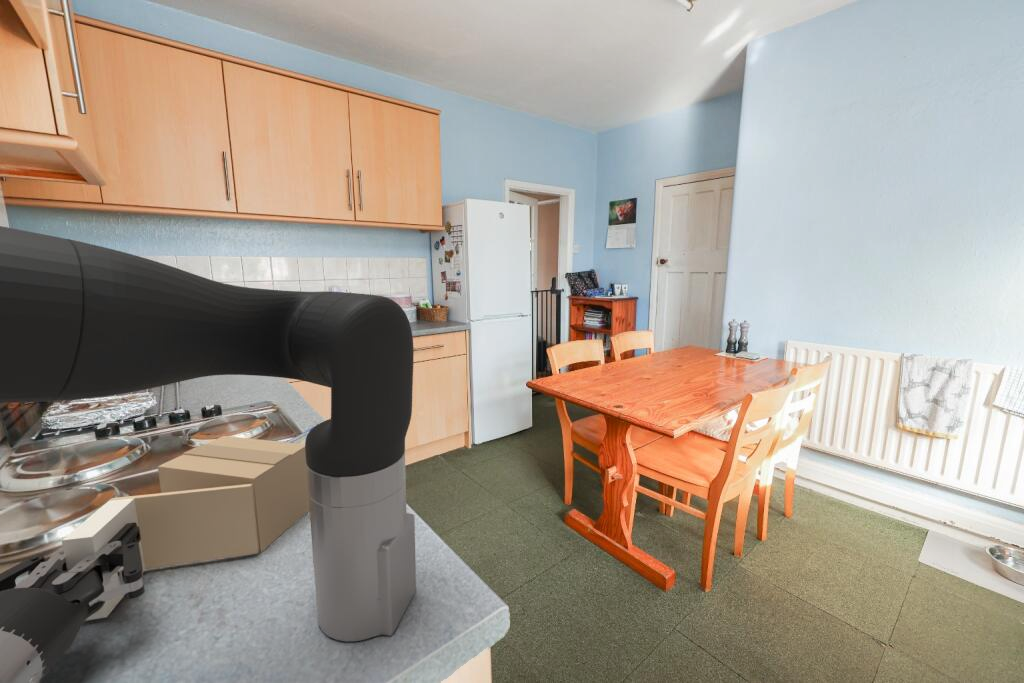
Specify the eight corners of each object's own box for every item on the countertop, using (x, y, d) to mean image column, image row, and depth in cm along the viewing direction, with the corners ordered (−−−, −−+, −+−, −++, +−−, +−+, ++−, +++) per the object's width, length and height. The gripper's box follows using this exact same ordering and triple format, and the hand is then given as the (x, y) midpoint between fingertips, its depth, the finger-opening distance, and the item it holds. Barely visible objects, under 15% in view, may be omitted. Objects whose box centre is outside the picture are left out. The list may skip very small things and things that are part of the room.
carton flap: (258, 550, 53) (252, 483, 51) (237, 595, 46) (229, 520, 44) (123, 569, 49) (111, 498, 48) (77, 622, 42) (61, 540, 41)
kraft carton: (312, 508, 63) (307, 443, 61) (260, 552, 53) (253, 477, 52) (230, 496, 66) (223, 434, 64) (167, 537, 56) (157, 464, 54)
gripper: (84, 612, 32) (187, 492, 48) (-182, 657, 28) (28, 510, 44) (100, 696, 33) (194, 551, 49) (-152, 751, 29) (41, 574, 45)
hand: (115, 532), depth 46 cm, fingers closed on carton flap, 2 cm apart
